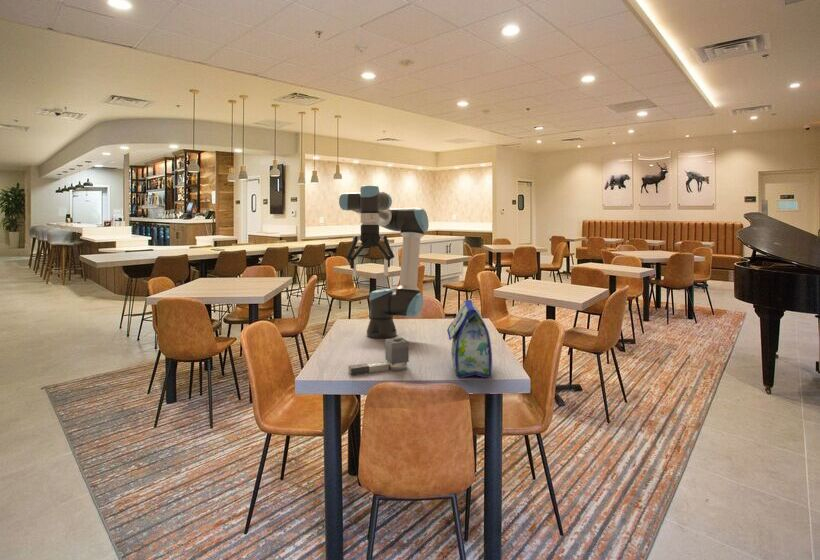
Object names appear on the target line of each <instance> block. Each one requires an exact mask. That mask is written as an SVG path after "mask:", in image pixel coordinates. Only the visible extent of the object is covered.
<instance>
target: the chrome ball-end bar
mask: <svg viewBox="0 0 820 560" xmlns="http://www.w3.org/2000/svg"><path fill="white" fill-rule="evenodd" d="M388 370H389V371H391V372H403V370H404V371H406V370H408V362H404V363H396V364H391V363H390V362H388V361H387V360H386V361H385V362H377V363H369V364H368V363H360V364H351V365H348V374H349V375H350V376H357V374H359V375H366V374H365V373H367V374H371V373H370V372H373V373H379V371H381V372H388Z"/></svg>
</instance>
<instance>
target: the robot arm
mask: <svg viewBox="0 0 820 560" xmlns="http://www.w3.org/2000/svg"><path fill="white" fill-rule="evenodd" d="M392 205H393V199H392V197H391V195H390V194H389V193H387V192H385V191H380V188H379V185H375V184H374V185H373V184H370V185H369V184H368V185H367V184H366V185H362V186H360V191H359V192H343V193H341V194H340V195H339V197H338V206H339V207H340V209H341V210H342V211H348V212H349V211H352V212H354V213H357V214H359V215H360V223H361V224H360V236H356V235H353V237H352V242H351V244H350V245H349V248H348V251H347V253H346V256H345V259H346V260H349V268H350V269H352V277H353V278H357V260H356V259H357V257H358V256H359V255H360V254H361V252H363V250H364V248H376V249H377V250H378V251H379V252H380V253H381V254H382V256H383V257H384V258H385V259H383V276H387V277H388V276H389V268H390V267H391V260H392V259H394V258H395V255H394V253H393V250H392V248H391V246H390V244H389V241H388V237H387V236H386V235H382V236H380V227H382V229H383V228H384V229H386V230H389V231H392V232H400V236H401V237H402V248H401V261H400V262H401V263H400V276H399V285H398V286H397V287H396V288H395V292H394V290H393V288H383V289H377V290H372V291H370V293H369V322H368V326H367V329H366V336H367V337H368V338H372V339H391V338H394V337H396V336H397V333H398V332H397V328H396V324H395V321H394V317H405V318H411V317H412V318H416V317H417V316H419V315H420V313H421V311H422V309H423V306H424V305H423V304H424V296H423V294H422V293H420V292H421V290H420V288H419V287H418V278H419V276H418V275H419V265H420V264H419V261H420V250H421V249H420V248H421V239H422V238H423V237H424V236H425V235H424V234H425V232H427V231H428V230H429V217H428V214H427V211H426V210H425V209H424V208H421V207H401V208H400V207H395V208H394V207H393V208H392ZM390 207H391V208H390ZM380 241H382V244H383V246H384V248H385V249H384V248H383V246H381V244H380V243H379V242H380ZM358 242H361V243H360V244H359V246H358V247H357V249H356V246H357V243H358ZM355 249H356V250H355ZM354 250H355V251H354ZM385 250H386V251H385Z"/></svg>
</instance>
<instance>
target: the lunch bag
mask: <svg viewBox="0 0 820 560" xmlns="http://www.w3.org/2000/svg"><path fill="white" fill-rule="evenodd" d="M447 335H448V340H449V341H450V340H451V341H452V342H451V348H450V349H451V352H450V354H451V358H452V359H451V360H452V364H453V368H454V369H453V370H454V372H455V376H456V377H457V378H461V377H462V378H466V377H470V376H474V375H475V376H478V377H481V378H482V377H483V378H487V377H488V378H490V377H492V373H493V351H492V350H493V348H492V342H491V336H490V335H491V334H490V333H489V329H488V327H487V325H486V323H485V320H484V318H483V316H482V314H481V313H480V311H479V309H478V307H477V305H476V304H475V303H474V302H473V301H472V300H470V299H466V300H464V301H463V302H462V305H461V307H459V310H458V312H457V314H456V316H455V317H454V319H453V320H452V322H451V323H450V325H448V327H447Z"/></svg>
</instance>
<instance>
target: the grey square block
mask: <svg viewBox="0 0 820 560" xmlns="http://www.w3.org/2000/svg"><path fill="white" fill-rule="evenodd" d="M384 341H385V350H384V353H385V355H384V356H385V358H384V359H385V361H386V362H387V361H388V362H390V363H391V364H396V363H404V362H407V363H409V362H410V361H409V360H410V357H409V355H410V354H409V348H410V347H409V346H410V343H409V340H406V339H405V338H403V337H396V338H394V337H393V338H384Z"/></svg>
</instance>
